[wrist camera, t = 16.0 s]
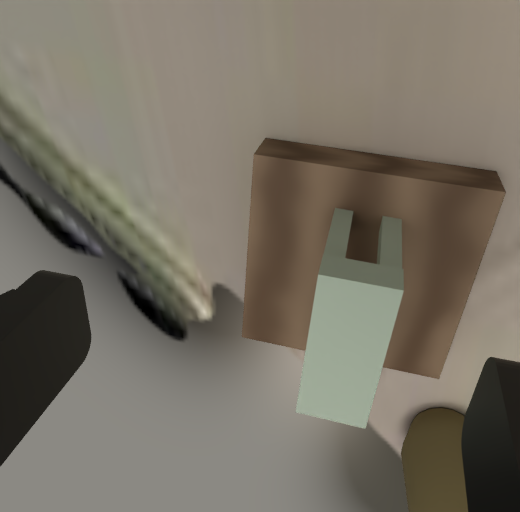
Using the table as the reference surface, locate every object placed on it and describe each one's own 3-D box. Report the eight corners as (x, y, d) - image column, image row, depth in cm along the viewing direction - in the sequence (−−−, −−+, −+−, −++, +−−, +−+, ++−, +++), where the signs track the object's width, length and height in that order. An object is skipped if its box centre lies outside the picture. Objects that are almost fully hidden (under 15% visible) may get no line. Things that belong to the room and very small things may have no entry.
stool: (402, 215, 37) (403, 290, 29) (371, 337, 43) (365, 428, 35) (335, 204, 38) (318, 274, 30) (314, 326, 44) (295, 412, 36)
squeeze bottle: (482, 455, 53) (516, 653, 38) (403, 450, 55) (405, 635, 40) (483, 399, 49) (521, 594, 34) (398, 397, 52) (398, 578, 36)
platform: (496, 171, 38) (505, 192, 35) (435, 349, 47) (438, 378, 44) (265, 138, 41) (253, 154, 37) (252, 311, 50) (241, 337, 47)
